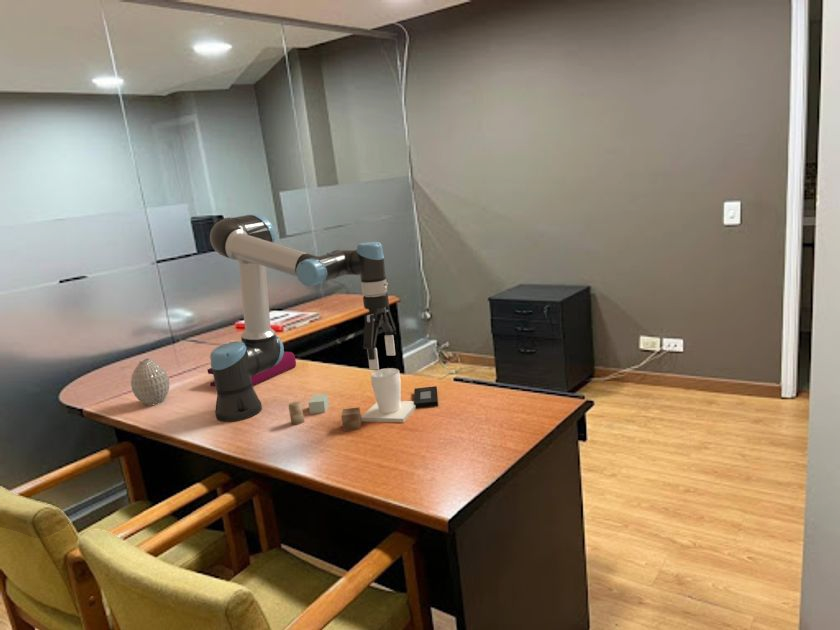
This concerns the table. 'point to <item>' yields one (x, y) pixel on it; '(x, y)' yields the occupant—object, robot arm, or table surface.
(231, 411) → the robot arm
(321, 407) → the sage block
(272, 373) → the book
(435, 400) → the vhs tape
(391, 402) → the cup
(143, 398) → the vase
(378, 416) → the tile
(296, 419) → the oak cylinder
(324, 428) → the table surface
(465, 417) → the table surface
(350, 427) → the walnut cube
